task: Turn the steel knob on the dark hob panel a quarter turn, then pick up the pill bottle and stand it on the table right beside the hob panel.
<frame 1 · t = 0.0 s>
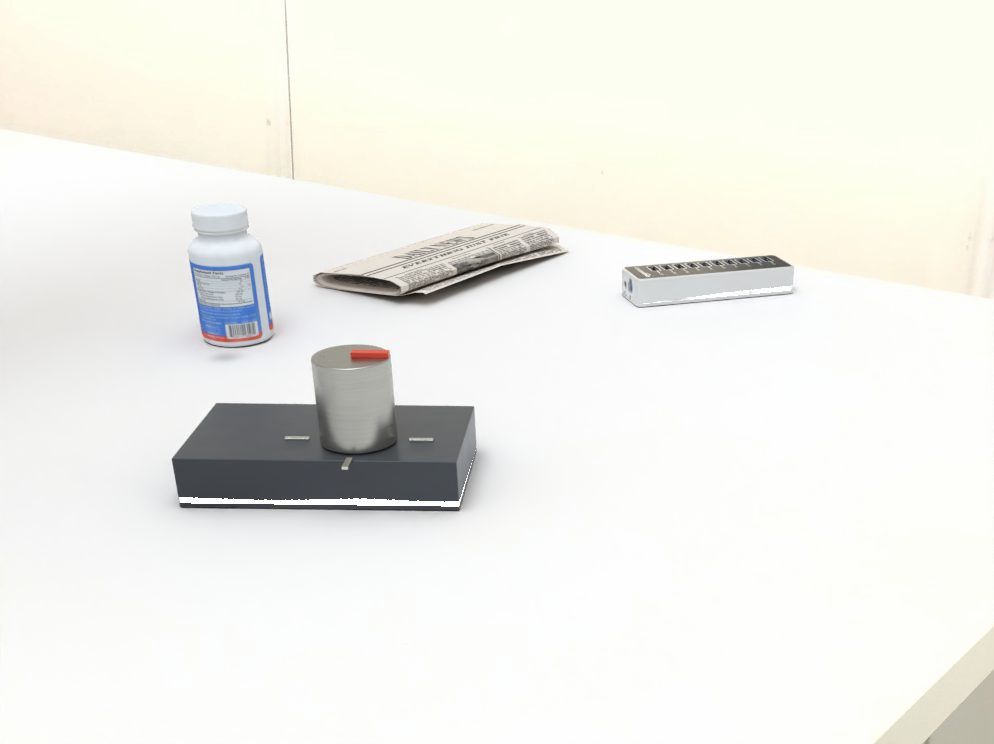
hob panel: (335, 477, 80), on the table
newspaper: (452, 271, 122), on the table
pill bottle: (238, 340, 103), on the table
hob knob: (354, 396, 76), point 6 cm above the table, hinge at 0.0°
multiport hub: (707, 295, 116), on the table
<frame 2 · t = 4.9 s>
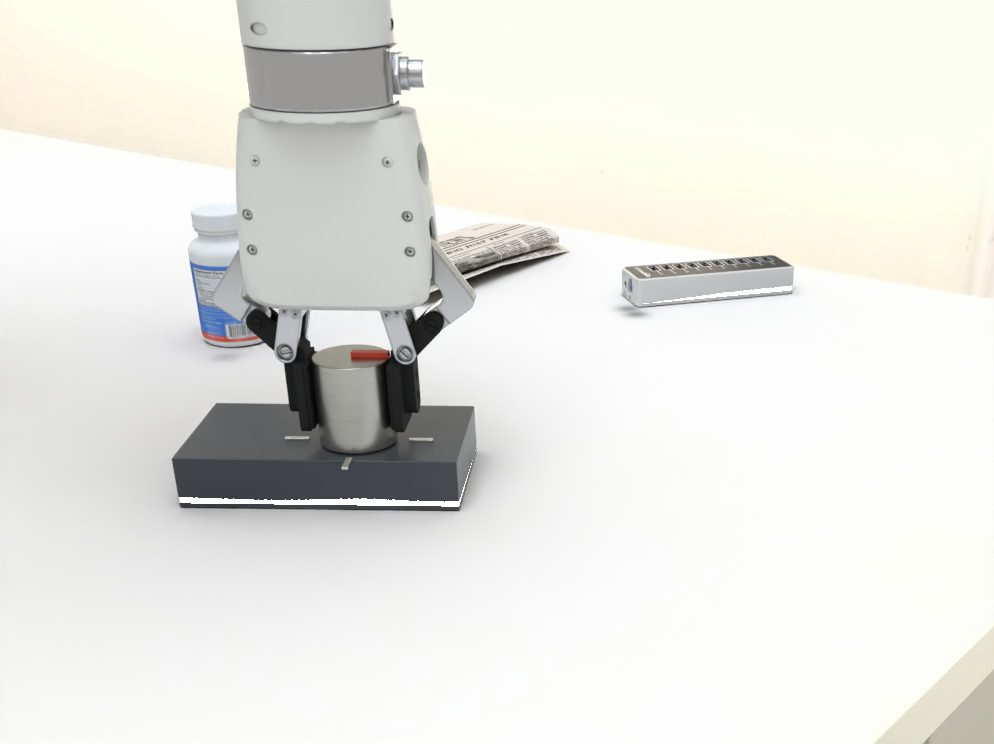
hand: (357, 420, 77), 4 cm above the table, tool pointing down, fingers closed on hob knob, 4 cm apart
hob knob: (354, 396, 76), point 6 cm above the table, hinge at 0.0°, touching gripper
everything else where it was.
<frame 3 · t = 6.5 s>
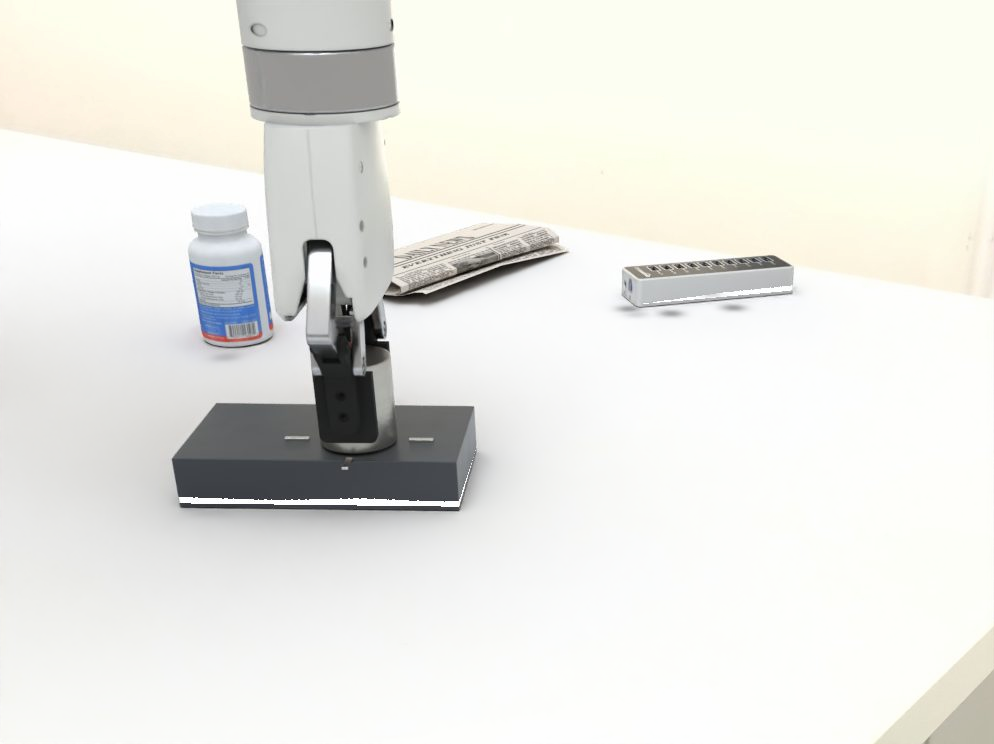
hand: (358, 420, 77), 4 cm above the table, tool pointing down, fingers closed on hob knob, 4 cm apart
hob knob: (354, 396, 76), point 6 cm above the table, hinge at 90.8°, touching gripper
everything else where it was.
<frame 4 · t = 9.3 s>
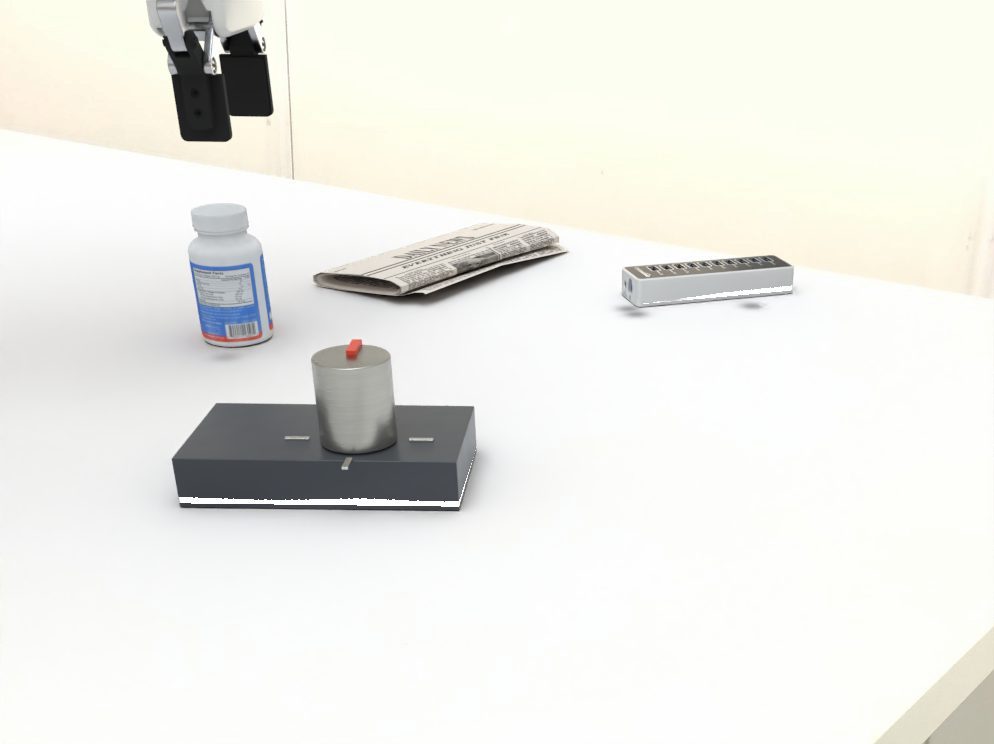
hand: (230, 127, 90), 16 cm above the table, tool pointing down, fingers open, 9 cm apart
hob knob: (354, 396, 76), point 6 cm above the table, hinge at 90.8°
everything else where it was.
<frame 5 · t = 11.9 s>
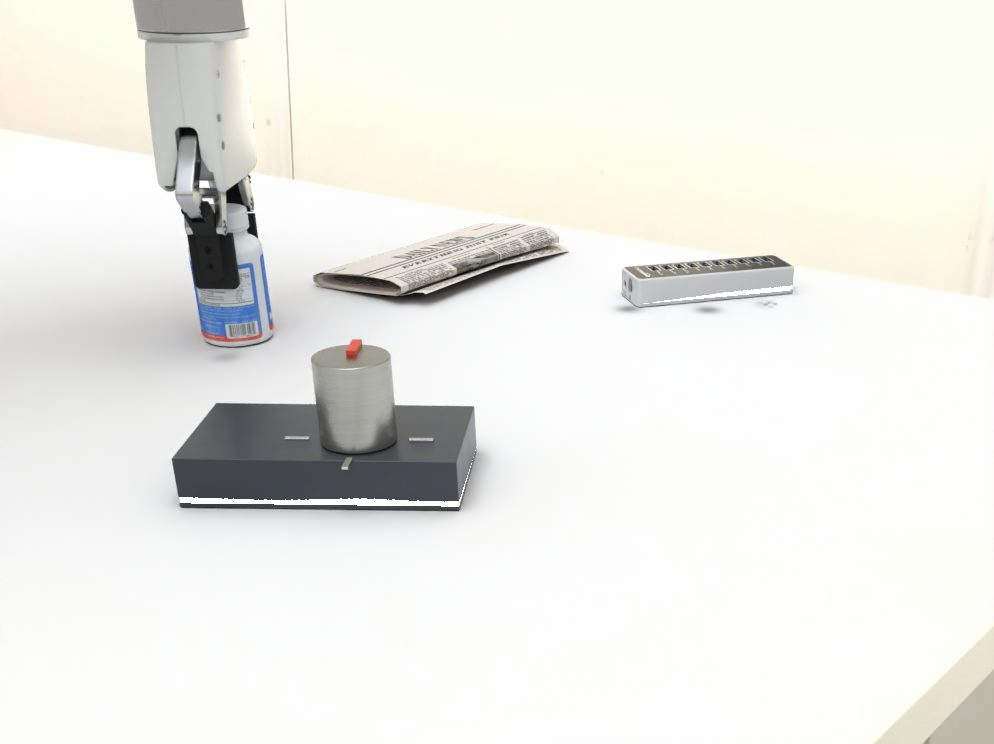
hand: (229, 274, 101), 5 cm above the table, tool pointing down, fingers closed on pill bottle, 5 cm apart
pill bottle: (238, 340, 103), on the table, touching gripper
everything else where it was.
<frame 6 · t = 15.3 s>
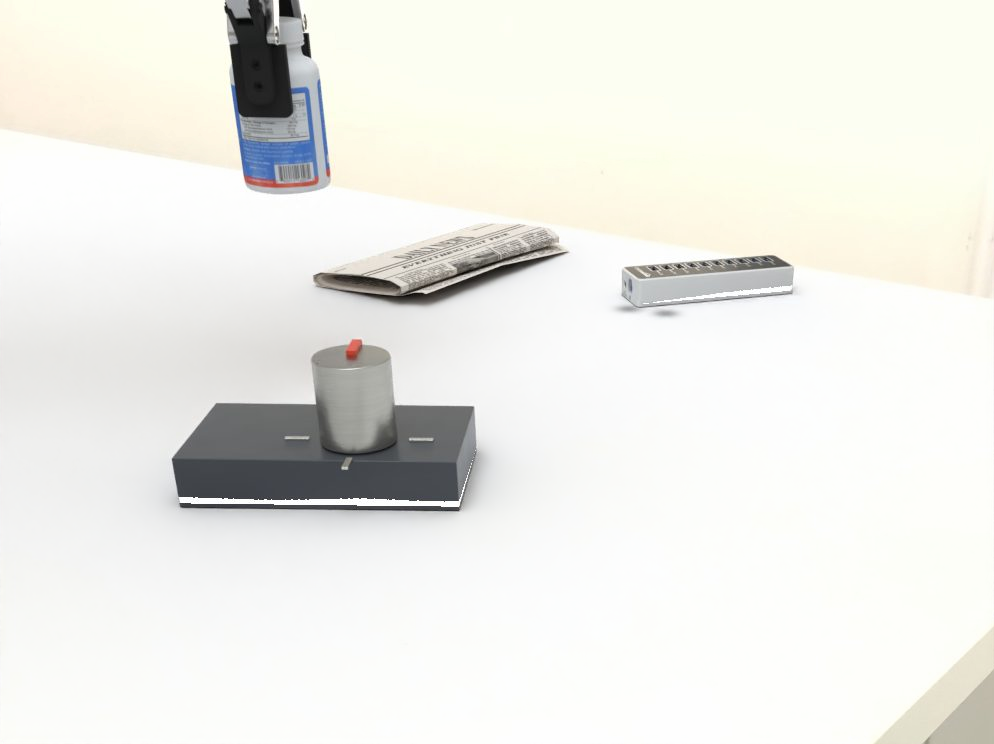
hand: (278, 105, 82), 19 cm above the table, tool pointing down, fingers closed on pill bottle, 5 cm apart
pill bottle: (288, 190, 85), point 14 cm above the table, touching gripper
everything else where it was.
when the fingers open (5 cm above the table, at t = 19.0 s): pill bottle stays where it is, on the table.
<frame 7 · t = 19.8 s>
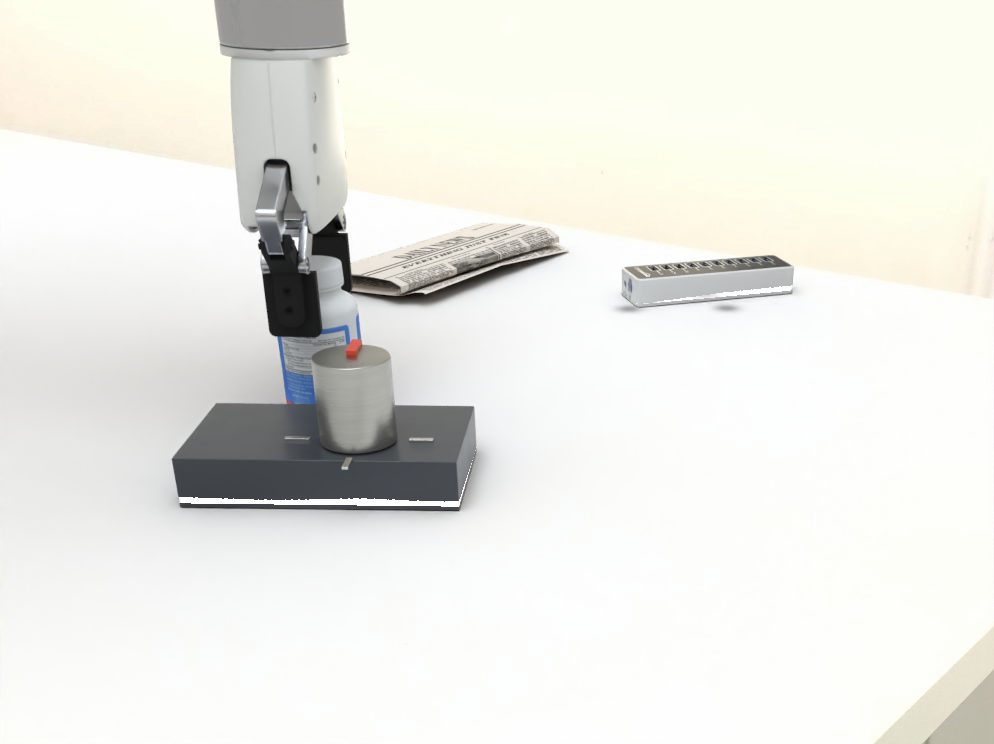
hand: (313, 313, 87), 6 cm above the table, tool pointing down, fingers open, 9 cm apart
pill bottle: (327, 409, 90), on the table
everything else where it was.
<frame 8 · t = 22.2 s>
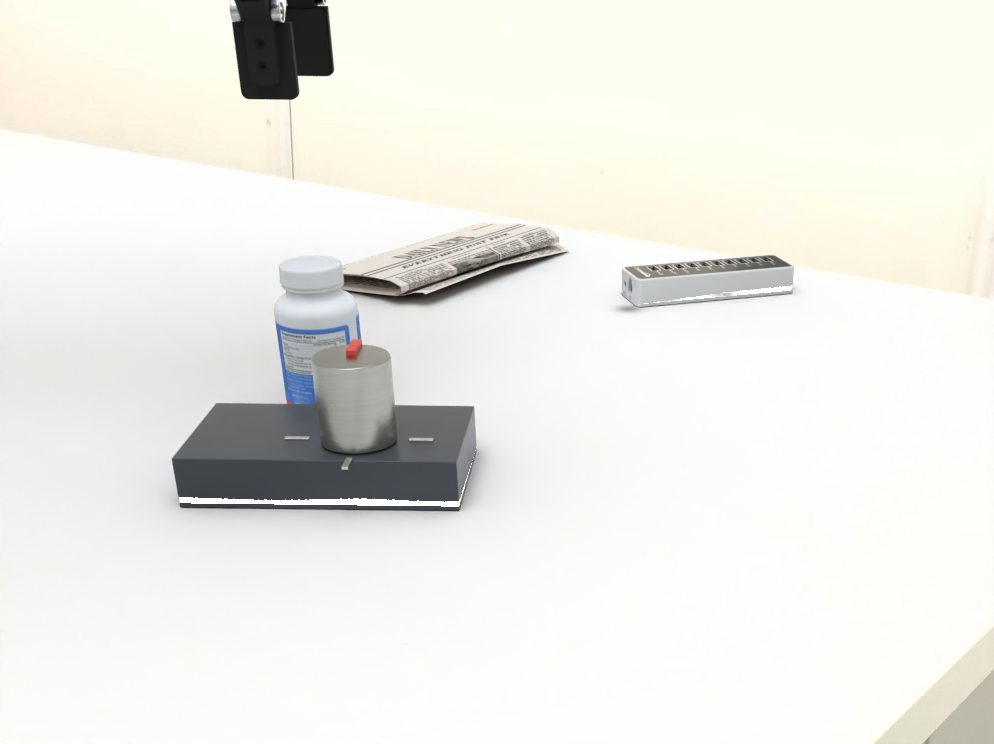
hand: (290, 86, 80), 20 cm above the table, tool pointing down, fingers open, 9 cm apart
nothing on the table moved.
at the end: hob knob at +91° (first picture: +0°); pill bottle inside the target area on the table beside the hob panel (2.0 cm from its centre), on the table; pill bottle tilted 0° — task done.
